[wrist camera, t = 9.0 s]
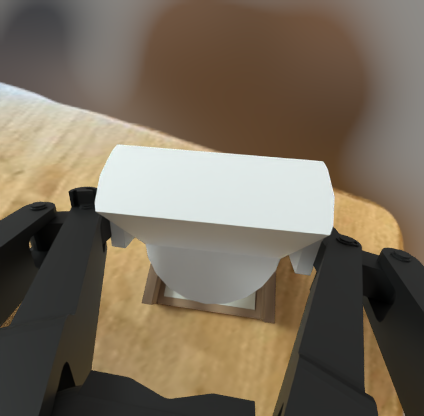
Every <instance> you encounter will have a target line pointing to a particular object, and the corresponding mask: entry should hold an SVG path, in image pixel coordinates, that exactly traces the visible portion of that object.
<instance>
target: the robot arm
mask: <svg viewBox="0 0 424 416" xmlns="http://www.w3.org/2000/svg"><path fill="white" fill-rule="evenodd" d="M96 193H97V188H95V187H80V188H75V189H72V190H70V191H69V196H70V201H71V206H72V208H71V210H70V211H62V212H57V211H56V207H55V204H53V203H50V202H35V203H33V204H29V205H26V206H24V207H22V208H21V209H19V210H17V211H16V212H14V213H12V214H10V215H9V216H7V217H5V218H4V219H2V220H0V327H1V326H2V324H3V323H4V322H5V321H6V320H7V319H8V317H9V316H10V315H11V314H12V313H13V312H14V310H15V309H16V308H17V307H18V306H19V304H20V303H21V302H22V303H21V305H20V307H19V309H18V311H17V313H16V314H15V316H14V318H13V320H12V322H11V324H10V325H9V326H8V327H3V328H0V416H255V401H250V400H245V399H240V398H234V397H229V396H224V395H219V394H205V395H197V396H189V397H182V398H174V399H167V398H164V397H162V396H160V395H159V394H157V393H155V392H154V391H152V390H150V389H148V388H147V387H145V386H143V385H141V384H140V383H138V382H136V381H135V380H133V379H131V378H129V377H124V376H119V375H113V374H108V373H103V372H98V371H92V370H91V369H92V361H93V353H94V345H95V338H96V330H97V322H98V315H99V307H100V299H101V291H102V284H103V276H104V268H105V261H106V253H107V243H106V241H107V240H108V239H109V238H110V237H111V242H112V246H115V247H121V248H126V247H127V246H128V245H129V243H130V242H131V241H132V240H133V239H134V238H135V237H134V236H132V235H131V234H129V233H128V232H126V231H125V230H123V229H122V228H120V227H119V226H117V225H116V224H114V223H112V222H111V221H109V220H108V219H106V218H105V217H103V216H102V215H100V214H99V213H97V212H96V211H95V198H96ZM29 242H30V243H31V246H32V247H31V248H29ZM289 258H290V260H291V263H292V266H293V269H294V272H295V273H297V274H304V275H311V272H312V269H313V266H314V267H315V269H316V271H317V272H316V275H315V277H314V280H313V283H312V285H311V288H310V294H309V297H308V300H307V304H306V307H305V310H304V314H303V317H302V320H301V323H300V327H299V330H298V333H297V337H296V340H295V343H294V347H293V350H292V353H291V357H290V360H289V363H288V367H287V370H286V373H285V377H284V380H283V383H282V386H281V390H280V393H279V396H278V400H277V403H276V406H275V410H274V413H273V416H378V412H377V405H376V402H375V400H374V398H373V397H371V396H370V395H368V394H366V393H365V387H364V336H363V306H364V309H365V311H366V314H367V316H368V319H369V322H370V324H371V327H372V330H373V332H374V335H375V337H376V340H377V343H378V345H379V348H380V351H381V353H382V356H383V358H384V361H385V364H386V366H387V369H388V371H389V374H390V377H391V379H392V382H393V385H394V387H395V390H396V392H397V395H398V398H399V400H400V403H401V405H402V408H403V411H404V413H405V416H424V266H423V265H422V264H421V263H420V262H419V261H418V260H417V259H416V258H415V257H413V256H411V255H410V254H409V253H407V252H404V251H402V250H397V249H393V248H383V249H382V251H381V253H380V255H376V254H372V253H369V252H365V251H362V246H361V244H360V243H359V242H358V241H356V240H354V239H353V238H350V237H348V236H345V235H341V234H339V233H338V231H337V230H336V229H335V228H332V231H331V234H330V235H329V236H327V237H325V238H323V239H321V240H319V241H317V242H314V243H312V244H310V245H308V246H306V247H304V248H302V249H300V250H298V251H296V252H294V253H292V254H289Z"/></svg>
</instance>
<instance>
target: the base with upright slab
mask: <svg viewBox="0 0 424 416" xmlns="http://www.w3.org/2000/svg"><path fill="white" fill-rule="evenodd" d="M95 211H96V212H97V213H99V214H100V215H102V216H103V217H105V218H106V219H108V220H109V221H111V222H112V223H114V224H116V225H117V226H119V227H120V228H122V229H123V230H125V231H126V232H128V233H129V234H131V235H132V236H134V237H135V238H137V239H138V240H140V241H142V242H143V243H145V244H146V248H147V254H148V258H149V260H150V262H151V264H152V266H153V268H154V270H155V272H156V274H157V275H158V276H159V277H160V278H161V280H162V281H163V282H164V283H165V284H166V285H167V286H168V287H169V288H170V289H171V290H173V291H175V292H176V293H178V294H180V295H181V296H183V297H184V298H186V299H189V300H193V301H197V302H200V303H204V304H227V303H230V302H233V301H236V300H240V299H243V298H246V297H248V296H249V295H250V294H252V293H253V292H255V291H256V290H258V289H259V288H261V287H262V286H263V285H264V284H265V283H266V282H267V280H268V279H269V278H270V277H271V276H272V274H273V273H274V272H275V270H276V268H277V266H278V263H279V261H280V259H281V258H283V257H285V256H287V255H289V254H292V253H294V252H296V251H298V250H300V249H302V248H304V247H306V246H308V245H310V244H312V243H314V242H317V241H319V240H321V239H323V238H325V237H327V236H329V235H330V234H331V231H332V228H333V219H334V193H333V189H332V185H331V181H330V177H329V173H328V169H327V168H326V166H325V164H324V162H323V161H311V160H300V159H287V158H275V157H263V156H251V155H239V154H238V155H237V154H227V153H215V152H203V151H190V150H178V149H166V148H154V147H142V146H130V145H118V144H117V146H116V147H115V148H114V149H113V150H112V152H111V154H110V156H109V158H108V160H107V162H106V164H105V166H104V168H103V170H102V172H101V174H100V178H99V183H98V188H97V193H96V198H95Z"/></svg>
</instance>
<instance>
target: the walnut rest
mask: <svg viewBox="0 0 424 416" xmlns="http://www.w3.org/2000/svg"><path fill="white" fill-rule="evenodd" d="M275 292H276V270H275V272H274V273H273V274H272V276H271V277H270V278H269V279H268V280H267V282H266V283H265V284H264V285H263V286H262V287H261V288H259V289H258V290H256V291H255V292H253V293H252V294H250V295H249V296H248V297H246V298H243V299H240V300H236V301H233V302H230V303H227V304H204V303H200V302H197V301H193V300H189V299H186V298H184V297H183V296H181V295H180V294H178V293H176V292H175V291H173V290H171V289H170V288H169V287H168V286H167V285H166V284H165V283H164V282H163V281H162V280H161V278H160V277H159V276H158V275H157V274H156V272H155V270H154V268H153V266H152V264H151V265H150V269H149V273H148V278H147V282H146V286H145V291H144V295H143V299H142V303H144V304H151V305H152V304H156V303H158V304H164V305H171V306H177V307H184V308H191V309H197V310H204V311H210V312H217V313H223V314H230V315H236V316H243V317H249V318H256V319H261V320H262V321H264V322H268V323H274V324H275Z"/></svg>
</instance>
